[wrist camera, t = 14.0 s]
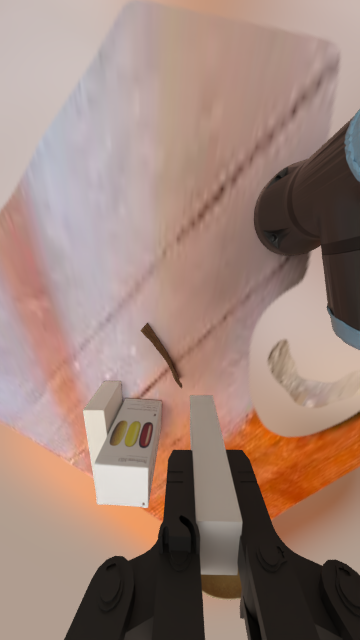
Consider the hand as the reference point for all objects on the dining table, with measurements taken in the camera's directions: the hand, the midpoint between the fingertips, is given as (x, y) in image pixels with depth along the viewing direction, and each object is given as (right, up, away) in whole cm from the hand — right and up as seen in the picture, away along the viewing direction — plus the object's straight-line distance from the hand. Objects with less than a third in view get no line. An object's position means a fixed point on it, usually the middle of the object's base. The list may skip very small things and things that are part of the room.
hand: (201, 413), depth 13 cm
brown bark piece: (-5, -1, +31) cm, 31 cm away
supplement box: (-11, -18, +35) cm, 41 cm away
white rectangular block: (-18, -19, +35) cm, 44 cm away
